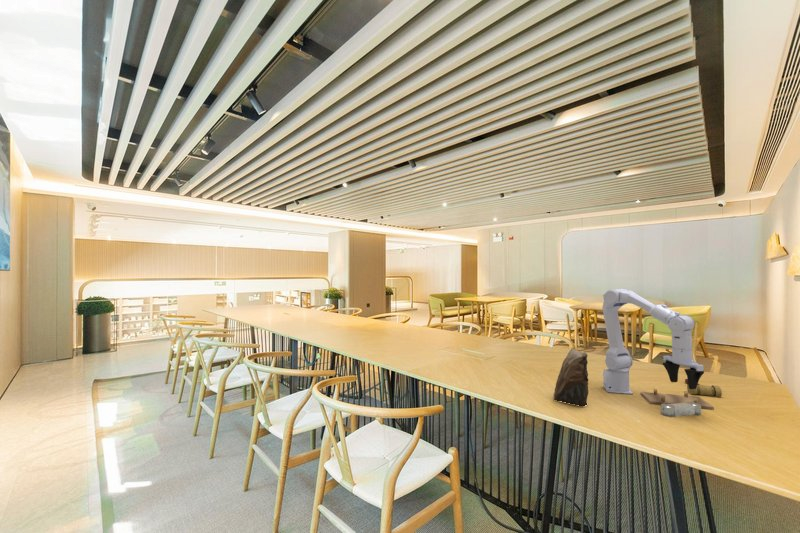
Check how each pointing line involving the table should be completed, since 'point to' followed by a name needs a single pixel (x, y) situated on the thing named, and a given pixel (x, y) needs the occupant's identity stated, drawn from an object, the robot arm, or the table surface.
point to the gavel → (705, 390)
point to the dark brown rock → (573, 379)
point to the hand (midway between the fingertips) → (683, 385)
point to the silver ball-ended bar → (680, 409)
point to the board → (674, 399)
